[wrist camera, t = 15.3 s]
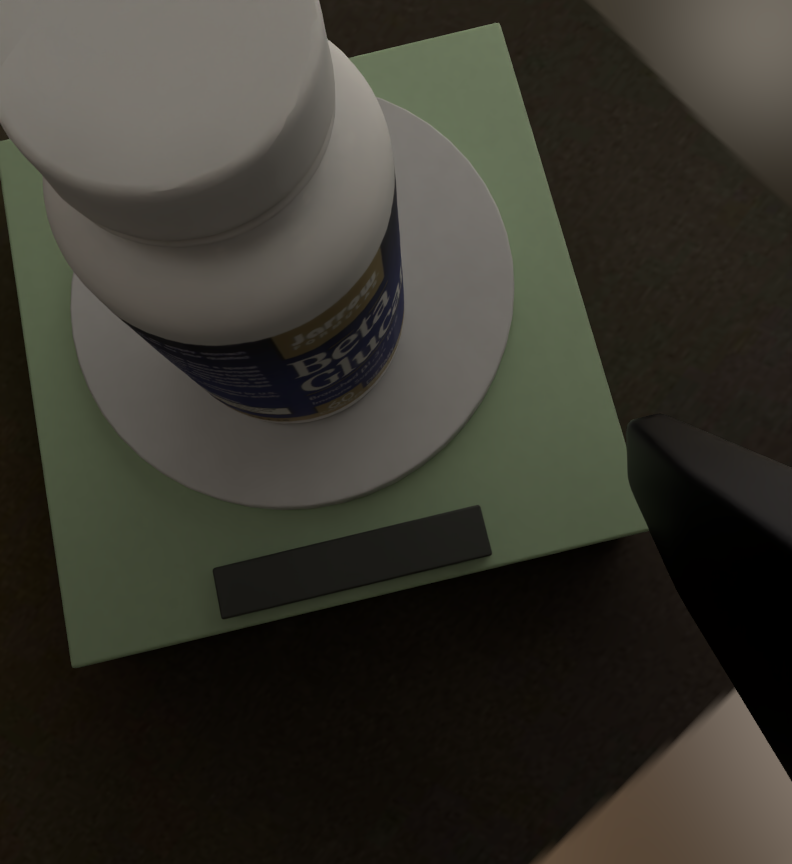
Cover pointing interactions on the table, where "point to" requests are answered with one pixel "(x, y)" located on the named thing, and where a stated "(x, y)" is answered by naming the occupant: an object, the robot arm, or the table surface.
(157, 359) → the scale
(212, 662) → the table surface
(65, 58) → the pill bottle
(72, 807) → the table surface
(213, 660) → the table surface
